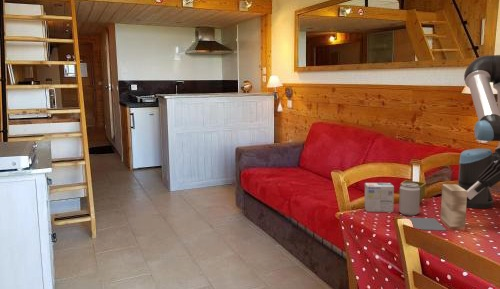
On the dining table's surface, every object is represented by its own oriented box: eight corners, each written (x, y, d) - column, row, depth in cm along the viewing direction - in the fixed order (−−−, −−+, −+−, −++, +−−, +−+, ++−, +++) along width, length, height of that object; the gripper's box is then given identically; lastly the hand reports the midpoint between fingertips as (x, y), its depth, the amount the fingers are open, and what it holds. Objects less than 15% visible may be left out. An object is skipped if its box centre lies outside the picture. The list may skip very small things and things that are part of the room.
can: (395, 211, 164) (396, 182, 162) (413, 210, 165) (414, 181, 163) (404, 216, 157) (405, 186, 155) (422, 216, 157) (424, 185, 156)
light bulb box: (389, 207, 169) (390, 182, 168) (393, 212, 162) (394, 186, 161) (363, 207, 170) (364, 182, 169) (366, 212, 163) (367, 185, 162)
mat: (435, 219, 153) (435, 218, 153) (446, 230, 140) (446, 230, 140) (399, 218, 155) (399, 217, 155) (407, 229, 142) (407, 228, 142)
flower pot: (404, 199, 181) (405, 179, 180) (425, 202, 176) (426, 182, 174) (399, 204, 174) (399, 183, 172) (420, 207, 169) (421, 186, 167)
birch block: (454, 221, 151) (456, 184, 149) (464, 230, 141) (467, 191, 139) (440, 220, 151) (442, 184, 150) (449, 229, 142) (451, 190, 140)
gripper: (539, 161, 133) (482, 209, 138) (519, 155, 146) (467, 199, 150) (523, 145, 133) (466, 193, 138) (504, 140, 146) (452, 184, 150)
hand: (466, 196), depth 144 cm, fingers closed
